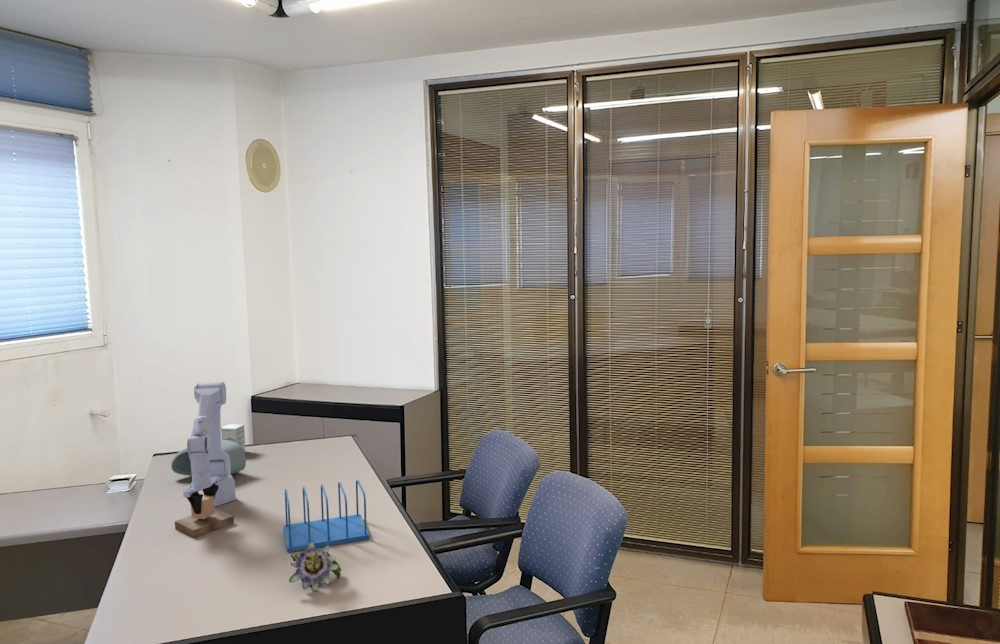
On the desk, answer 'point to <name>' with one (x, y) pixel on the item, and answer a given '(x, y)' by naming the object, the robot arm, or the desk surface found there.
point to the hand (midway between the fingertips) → (203, 510)
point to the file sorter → (325, 525)
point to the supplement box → (234, 434)
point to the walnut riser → (204, 523)
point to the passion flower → (314, 567)
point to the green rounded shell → (233, 449)
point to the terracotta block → (205, 507)
